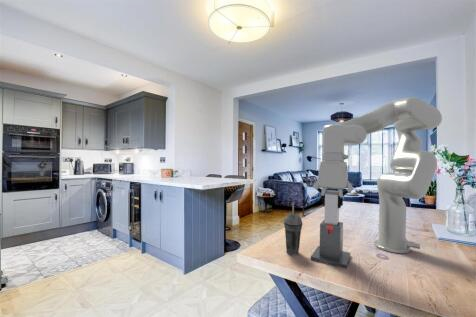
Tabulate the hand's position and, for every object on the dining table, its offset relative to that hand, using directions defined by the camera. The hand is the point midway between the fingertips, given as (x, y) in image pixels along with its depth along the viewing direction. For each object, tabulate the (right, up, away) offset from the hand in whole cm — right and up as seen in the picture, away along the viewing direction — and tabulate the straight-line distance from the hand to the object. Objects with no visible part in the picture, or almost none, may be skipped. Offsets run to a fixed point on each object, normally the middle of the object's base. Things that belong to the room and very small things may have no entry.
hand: (332, 206), depth 87 cm
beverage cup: (-14, -19, +5) cm, 24 cm away
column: (0, -15, 0) cm, 15 cm away
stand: (0, -19, 0) cm, 19 cm away
